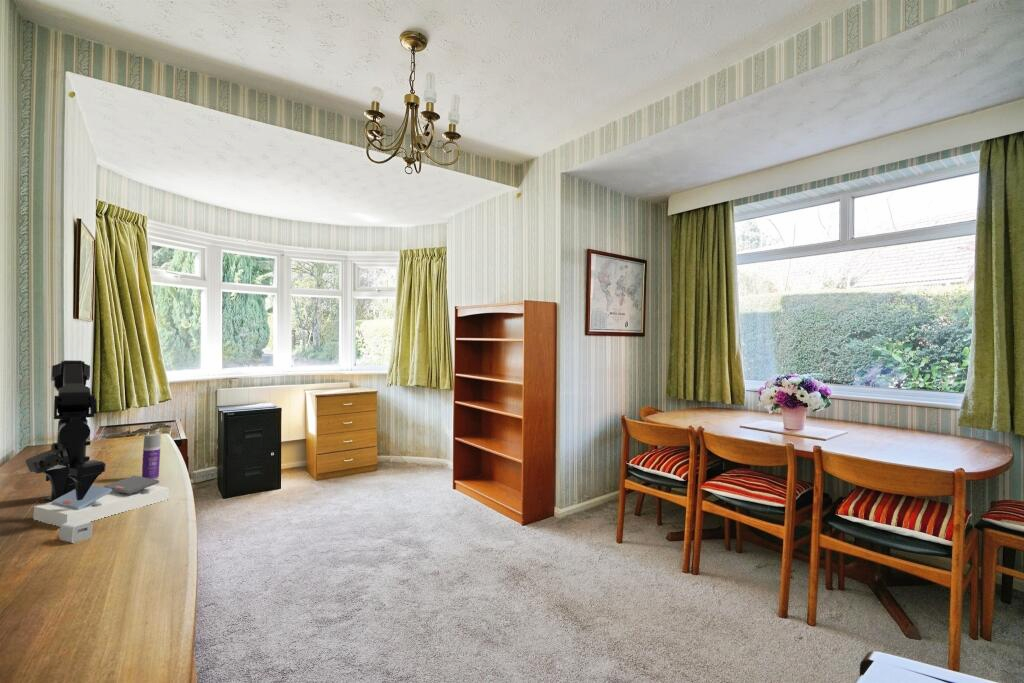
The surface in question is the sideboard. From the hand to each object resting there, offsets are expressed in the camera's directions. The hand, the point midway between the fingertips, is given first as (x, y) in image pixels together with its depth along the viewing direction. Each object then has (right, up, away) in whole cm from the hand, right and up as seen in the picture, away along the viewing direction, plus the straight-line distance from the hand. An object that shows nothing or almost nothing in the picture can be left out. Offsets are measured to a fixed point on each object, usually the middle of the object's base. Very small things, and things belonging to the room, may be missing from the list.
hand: (68, 497), depth 123 cm
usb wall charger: (+12, -6, -11) cm, 18 cm away
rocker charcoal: (+5, -2, +14) cm, 15 cm away
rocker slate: (+1, -1, +3) cm, 3 cm away
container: (-8, -6, +38) cm, 39 cm away
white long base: (+3, -6, +8) cm, 10 cm away
